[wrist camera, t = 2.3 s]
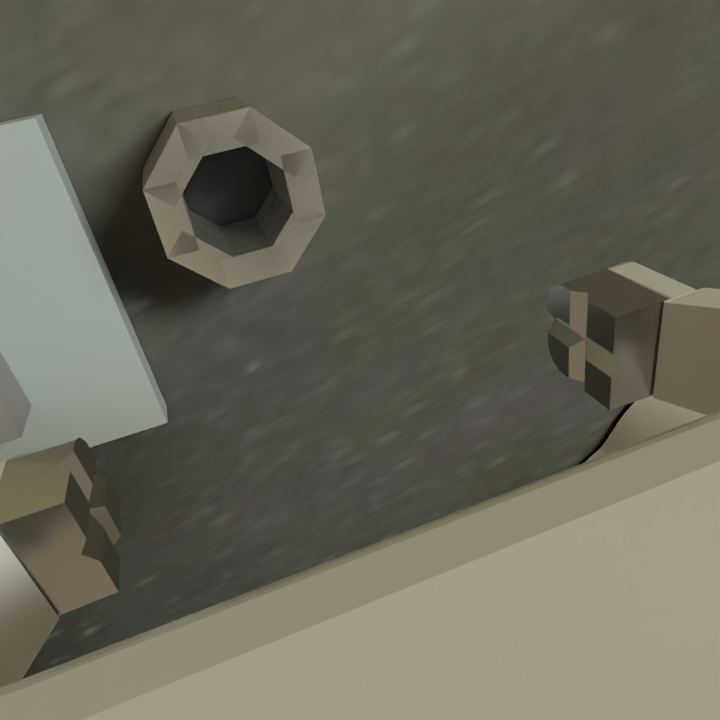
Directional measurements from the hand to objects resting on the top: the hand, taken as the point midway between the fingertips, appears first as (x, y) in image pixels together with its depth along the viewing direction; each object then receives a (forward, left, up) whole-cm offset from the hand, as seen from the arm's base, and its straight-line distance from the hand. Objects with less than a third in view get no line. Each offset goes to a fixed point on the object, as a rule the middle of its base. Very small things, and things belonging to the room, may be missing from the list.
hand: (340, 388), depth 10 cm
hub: (0, 0, -18) cm, 18 cm away
